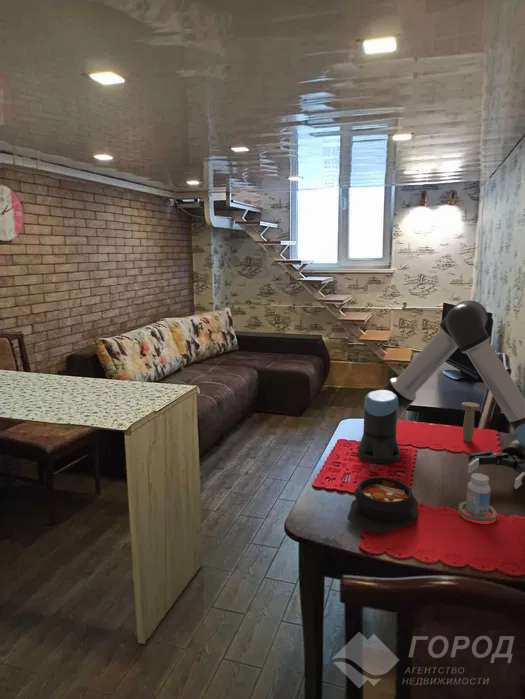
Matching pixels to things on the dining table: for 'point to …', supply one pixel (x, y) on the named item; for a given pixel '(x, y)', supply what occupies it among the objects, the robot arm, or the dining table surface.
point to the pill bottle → (478, 495)
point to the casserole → (382, 505)
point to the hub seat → (463, 507)
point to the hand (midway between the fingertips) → (491, 476)
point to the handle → (469, 420)
